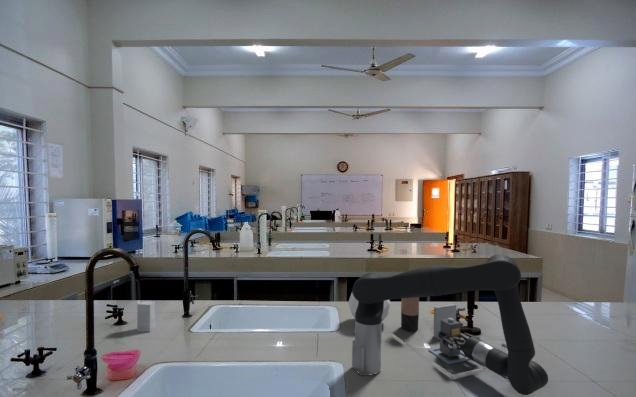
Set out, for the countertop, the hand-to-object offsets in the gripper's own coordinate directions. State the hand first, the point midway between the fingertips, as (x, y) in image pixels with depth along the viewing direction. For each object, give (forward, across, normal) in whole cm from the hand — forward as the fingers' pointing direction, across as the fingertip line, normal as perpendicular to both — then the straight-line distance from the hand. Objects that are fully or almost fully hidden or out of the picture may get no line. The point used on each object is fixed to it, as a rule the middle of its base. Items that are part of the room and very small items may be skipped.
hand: (445, 333), depth 130 cm
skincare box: (+65, +108, +8) cm, 126 cm away
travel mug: (+23, -1, +9) cm, 25 cm away
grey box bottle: (-3, 0, +6) cm, 7 cm away
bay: (+7, -11, +8) cm, 16 cm away
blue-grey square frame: (-3, 0, +9) cm, 9 cm away
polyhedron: (+38, +11, +8) cm, 40 cm away
